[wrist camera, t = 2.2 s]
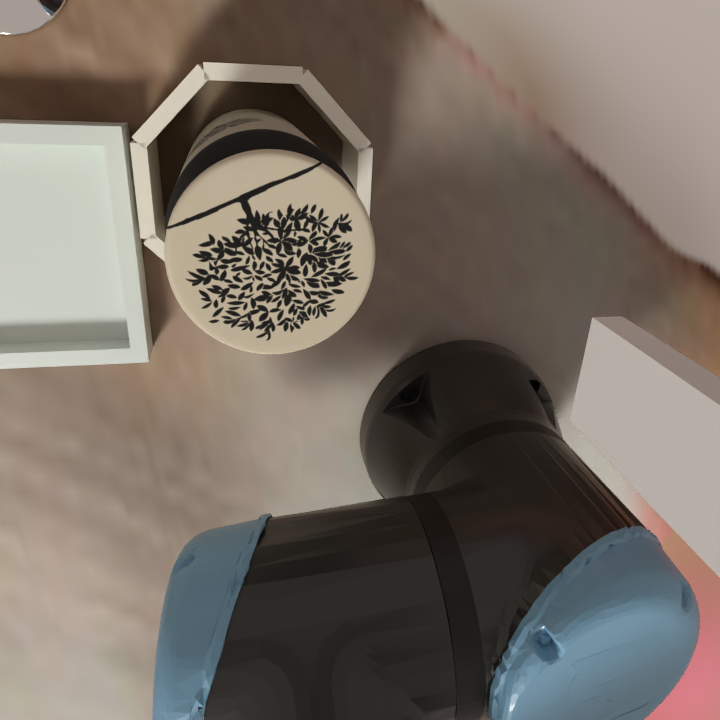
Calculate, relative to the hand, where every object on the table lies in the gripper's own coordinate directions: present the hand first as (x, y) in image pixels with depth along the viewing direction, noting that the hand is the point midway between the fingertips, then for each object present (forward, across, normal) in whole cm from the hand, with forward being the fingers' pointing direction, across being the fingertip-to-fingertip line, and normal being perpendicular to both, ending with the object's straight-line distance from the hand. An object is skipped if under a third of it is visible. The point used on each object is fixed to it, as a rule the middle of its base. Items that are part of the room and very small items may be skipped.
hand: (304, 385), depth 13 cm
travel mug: (+28, 0, 0) cm, 28 cm away
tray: (+28, +15, +4) cm, 32 cm away
